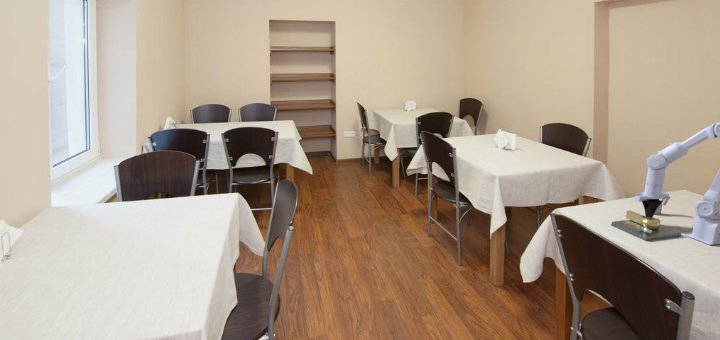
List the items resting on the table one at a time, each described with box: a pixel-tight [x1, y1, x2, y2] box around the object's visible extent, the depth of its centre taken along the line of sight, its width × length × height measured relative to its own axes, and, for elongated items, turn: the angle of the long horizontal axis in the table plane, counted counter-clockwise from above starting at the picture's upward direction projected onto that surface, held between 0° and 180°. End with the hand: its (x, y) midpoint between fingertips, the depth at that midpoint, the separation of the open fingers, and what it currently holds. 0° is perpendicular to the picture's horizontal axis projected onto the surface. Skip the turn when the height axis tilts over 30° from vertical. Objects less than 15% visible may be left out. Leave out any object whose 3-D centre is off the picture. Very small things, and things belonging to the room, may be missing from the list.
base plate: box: [610, 219, 682, 242], centre depth 172 cm, size 16×16×3 cm
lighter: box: [654, 196, 671, 215], centre depth 190 cm, size 7×2×8 cm, turn 96°
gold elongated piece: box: [625, 210, 661, 230], centre depth 174 cm, size 14×6×3 cm, turn 15°
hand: (648, 216), depth 178 cm, fingers closed
